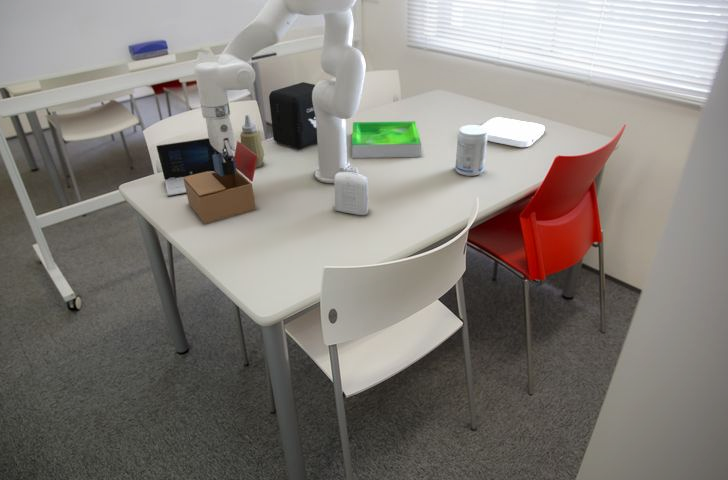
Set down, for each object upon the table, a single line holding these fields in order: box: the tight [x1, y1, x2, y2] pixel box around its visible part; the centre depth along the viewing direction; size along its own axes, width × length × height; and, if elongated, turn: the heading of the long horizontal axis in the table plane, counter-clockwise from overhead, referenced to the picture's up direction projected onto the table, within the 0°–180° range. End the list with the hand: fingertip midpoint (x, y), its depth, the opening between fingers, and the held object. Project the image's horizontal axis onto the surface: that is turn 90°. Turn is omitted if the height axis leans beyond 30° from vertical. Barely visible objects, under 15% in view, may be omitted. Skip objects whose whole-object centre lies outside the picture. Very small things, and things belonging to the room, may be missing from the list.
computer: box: [481, 116, 546, 148], centre depth 202 cm, size 22×22×3 cm
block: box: [212, 153, 238, 176], centre depth 151 cm, size 5×5×5 cm
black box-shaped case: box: [268, 81, 318, 151], centre depth 197 cm, size 20×15×20 cm
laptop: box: [156, 137, 216, 196], centre depth 167 cm, size 18×12×13 cm
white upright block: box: [333, 172, 369, 216], centre depth 149 cm, size 10×4×12 cm, turn 69°
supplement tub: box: [454, 124, 488, 177], centre depth 171 cm, size 10×10×15 cm
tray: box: [351, 120, 422, 159], centre depth 196 cm, size 25×25×5 cm
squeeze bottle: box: [239, 114, 265, 169], centre depth 178 cm, size 8×8×18 cm
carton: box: [182, 169, 257, 225], centre depth 154 cm, size 16×15×9 cm
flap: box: [233, 140, 258, 183], centre depth 154 cm, size 8×15×1 cm
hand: (225, 170), depth 152 cm, fingers closed on block, 5 cm apart
